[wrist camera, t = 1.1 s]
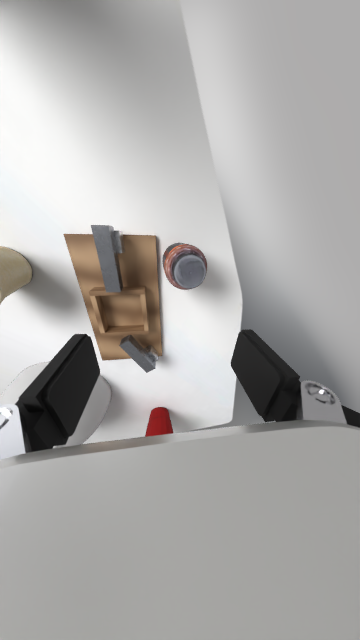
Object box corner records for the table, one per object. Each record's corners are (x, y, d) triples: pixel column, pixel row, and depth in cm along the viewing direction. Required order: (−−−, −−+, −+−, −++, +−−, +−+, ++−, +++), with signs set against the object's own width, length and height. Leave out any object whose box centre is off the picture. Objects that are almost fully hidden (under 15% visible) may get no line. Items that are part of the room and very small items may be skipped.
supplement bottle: (173, 282, 30) (181, 305, 20) (155, 255, 27) (154, 265, 17) (199, 265, 29) (221, 280, 19) (184, 235, 26) (199, 234, 16)
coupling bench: (66, 234, 24) (53, 233, 21) (155, 235, 26) (155, 235, 23) (103, 358, 36) (98, 368, 34) (162, 353, 38) (162, 363, 35)
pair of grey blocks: (97, 227, 23) (85, 224, 19) (149, 228, 24) (147, 226, 20) (125, 360, 37) (121, 376, 33) (158, 358, 38) (158, 372, 34)
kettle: (68, 429, 48) (6, 561, 28) (-12, 395, 38) (-198, 568, 18) (129, 393, 44) (105, 520, 24) (57, 345, 33) (-88, 499, 14)
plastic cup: (136, 418, 50) (131, 466, 39) (151, 399, 46) (149, 446, 36) (165, 424, 54) (167, 469, 43) (181, 406, 50) (187, 451, 39)
